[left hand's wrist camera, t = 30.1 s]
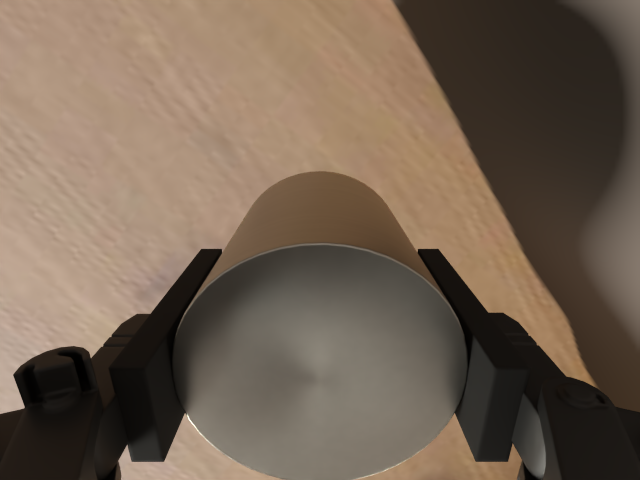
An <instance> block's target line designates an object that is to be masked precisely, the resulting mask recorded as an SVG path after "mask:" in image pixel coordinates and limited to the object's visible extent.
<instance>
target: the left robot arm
mask: <svg viewBox="0 0 640 480" xmlns="http://www.w3.org/2000/svg"><path fill="white" fill-rule="evenodd" d="M221 254H222V249H201V250H200V251H199V253H198V254H197V255H196V257H195V258H194V259H193V260H192V262H191V263H190V264H189V266H188V267H187V268H186V269H185V271H184V272H183V273H182V274H181V276H180V277H179V278H178V280H177V281H176V282H175V283H174V285H173V286H172V287H171V288H170V290H169V291H168V292H167V294H166V295H165V296H164V297H163V299H162V300H161V301H160V303H159V304H158V305H157V306H156V308H155V309H154V310H153V311H152V313H151V314H136V315H135V316H133V317H131V318H130V319H128V320H127V321H125V322H124V323H122V324H121V325H120V326H119V327H118V328H117V330H116V331H115V332H114V333H113V334H112V337H110V338H109V339H108V340H107V341H106V342H105V343H104V344H103V347H101V348H100V349H99V350H98V351H97V352H96V354H95V355H94V356H93V357H92V358H90V354H89V352H88V351H87V350H86V349H84V348H81V347H75V346H71V347H61V348H57V349H53V350H50V351H46V352H44V353H42V354H40V355H38V356H35V357H33V358H31V359H30V360H29V361H27V362H26V363H24V364H23V365H21V366H20V367H19V369H18V370H17V371H16V372H15V373H14V374H13V376H14V378H15V381H16V384H17V387H18V389H19V392H20V395H21V397H22V400H23V403H24V406H25V408H24V409H21V410H16V411H12V412H7V413H3V414H0V480H121V471H120V466H119V462H118V460H119V458H120V456H121V455H122V453H123V451H124V449H125V447H126V446H127V445H128V448H129V452H130V456H131V460H132V462H164V460H165V458H166V456H167V453H168V451H169V449H170V446H171V444H172V442H173V439H174V437H175V435H176V432H177V430H178V428H179V425H180V423H181V421H182V418H183V416H184V414H185V411H184V410H183V408H182V406H181V403H180V401H179V398H178V396H177V393H176V390H175V385H174V381H173V375H172V351H173V343H174V339H175V336H176V332H177V328H178V326H179V324H180V322H181V320H182V317H183V315H184V313H185V311H186V310H187V308H188V307H189V305H190V303H191V302H192V300H193V299H194V297H195V295H196V294H197V292H198V291H199V289H200V288H201V286H202V284H203V283H204V281H205V280H206V278H207V276H208V275H209V273H210V272H211V270H212V269H213V267H214V265H215V264H216V262H217V261H218V259H219V257H220V256H221ZM418 255H419V256H420V258H421V259H422V261H423V263H424V264H425V266H426V267H427V269H428V270H429V272H430V274H431V275H432V277H433V278H434V280H435V282H436V283H437V285H438V286H439V288H440V289H441V291H442V293H443V294H444V296H445V297H446V299H447V301H448V302H449V304H450V305H451V307H452V309H453V311H454V312H455V314H456V316H457V318H458V320H459V322H460V325H461V327H462V330H463V333H464V336H465V341H466V346H467V352H468V371H467V379H466V385H465V388H464V392H463V395H462V398H461V400H460V403H459V405H458V407H457V409H456V411H455V414H456V417H457V419H458V421H459V424H460V426H461V428H462V431H463V433H464V435H465V438H466V440H467V442H468V445H469V447H470V449H471V452H472V454H473V456H474V459H475V461H476V462H508V459H509V455H510V451H511V447H512V443H513V444H514V446H515V448H516V450H517V451H518V453H519V455H520V457H521V459H522V462H521V466H520V469H519V473H518V477H517V480H640V412H635V411H631V410H627V409H622V408H618V407H615V406H614V404H613V403H612V402H611V400H610V399H609V398H608V397H607V396H606V395H605V394H604V393H602V392H601V391H600V390H598V389H597V388H595V387H593V386H591V385H589V384H588V383H586V382H583V381H580V380H577V379H574V378H571V377H566V376H565V375H564V374H563V372H562V371H561V370H560V369H559V368H558V367H557V366H556V365H555V363H554V362H553V361H552V360H551V359H550V358H549V357H548V355H547V354H546V353H545V352H544V351H543V350H542V349H541V348H540V346H537V343H536V342H535V341H534V340H533V339H532V337H531V336H528V333H527V332H526V331H525V329H524V328H523V327H522V326H521V325H520V324H519V323H518V322H517V321H515V320H514V319H512V318H510V317H509V316H507V315H506V314H504V313H488V312H487V311H486V309H485V308H484V307H483V305H482V304H481V303H480V302H479V300H478V299H477V298H476V296H475V295H474V294H473V293H472V291H471V290H470V289H469V288H468V286H467V285H466V284H465V282H464V281H463V280H462V279H461V277H460V276H459V275H458V274H457V272H456V271H455V270H454V268H453V267H452V266H451V265H450V263H449V262H448V261H447V259H446V258H445V257H444V256H443V254H442V253H441V252H440V251H439V249H418Z"/></svg>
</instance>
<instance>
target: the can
mask: <svg viewBox="0 0 640 480" xmlns="http://www.w3.org/2000/svg"><path fill="white" fill-rule="evenodd" d="M467 371H468V352H467V346H466V341H465V336H464V333H463V330H462V327H461V325H460V322H459V320H458V318H457V316H456V314H455V312H454V311H453V309H452V307H451V305H450V304H449V302H448V301H447V299H446V297H445V296H444V294H443V293H442V291H441V289H440V288H439V286H438V285H437V283H436V282H435V280H434V278H433V277H432V275H431V274H430V272H429V270H428V269H427V267H426V266H425V264H424V263H423V261H422V259H421V258H420V256H419V255H418V253H417V251H416V250H415V248H414V247H413V245H412V243H411V242H410V240H409V239H408V237H407V236H406V234H405V232H404V231H403V229H402V228H401V226H400V224H399V223H398V221H397V220H396V218H395V217H394V215H393V213H392V212H391V210H390V209H389V207H388V206H387V204H386V203H385V202H384V200H383V199H382V198H381V197H380V196H379V195H378V194H377V193H376V192H375V191H374V190H372V189H371V188H370V187H368V186H367V185H365V184H364V183H362V182H360V181H358V180H356V179H354V178H351V177H349V176H346V175H343V174H338V173H334V172H324V171H319V172H307V173H301V174H297V175H294V176H291V177H288V178H286V179H284V180H282V181H279V182H278V183H276V184H275V185H273V186H271V187H270V188H269V189H267V190H266V191H265V192H264V193H263V194H262V195H261V196H260V197H259V198H258V199H257V200H256V201H255V202H254V204H253V205H252V207H251V208H250V210H249V211H248V213H247V215H246V216H245V218H244V219H243V221H242V223H241V224H240V226H239V227H238V229H237V230H236V232H235V234H234V235H233V237H232V238H231V240H230V242H229V243H228V245H227V246H226V248H225V249H224V251H223V253H222V254H221V256H220V257H219V259H218V261H217V262H216V264H215V265H214V267H213V269H212V270H211V272H210V273H209V275H208V276H207V278H206V280H205V281H204V283H203V284H202V286H201V288H200V289H199V291H198V292H197V294H196V295H195V297H194V299H193V300H192V302H191V303H190V305H189V307H188V308H187V310H186V311H185V313H184V315H183V317H182V320H181V322H180V324H179V326H178V328H177V332H176V336H175V339H174V343H173V351H172V375H173V381H174V385H175V390H176V393H177V396H178V398H179V401H180V403H181V406H182V408H183V410H184V411H185V413H186V415H187V417H188V418H189V420H190V421H191V423H192V424H193V425H194V427H195V428H196V429H197V430H198V432H199V433H200V434H201V435H202V436H203V437H204V438H205V439H206V440H207V441H208V442H209V443H210V444H211V445H212V446H214V447H215V448H216V449H218V450H219V451H220V452H221V453H223V454H224V455H226V456H227V457H229V458H231V459H232V460H234V461H235V462H237V463H239V464H241V465H243V466H246V467H248V468H250V469H252V470H255V471H257V472H260V473H263V474H266V475H269V476H273V477H277V478H281V479H285V480H354V479H359V478H363V477H367V476H370V475H374V474H377V473H380V472H383V471H385V470H387V469H390V468H392V467H394V466H397V465H399V464H400V463H402V462H404V461H406V460H407V459H409V458H411V457H412V456H414V455H415V454H417V453H418V452H419V451H421V450H422V449H424V448H425V447H426V446H427V445H428V444H429V443H430V442H432V441H433V440H434V439H435V438H436V437H437V436H438V435H439V433H440V432H441V431H442V430H443V429H444V428H445V426H446V425H447V424H448V422H449V421H450V419H451V418H452V416H453V415H454V413H455V411H456V409H457V407H458V405H459V403H460V400H461V398H462V395H463V392H464V388H465V385H466V379H467Z"/></svg>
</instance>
